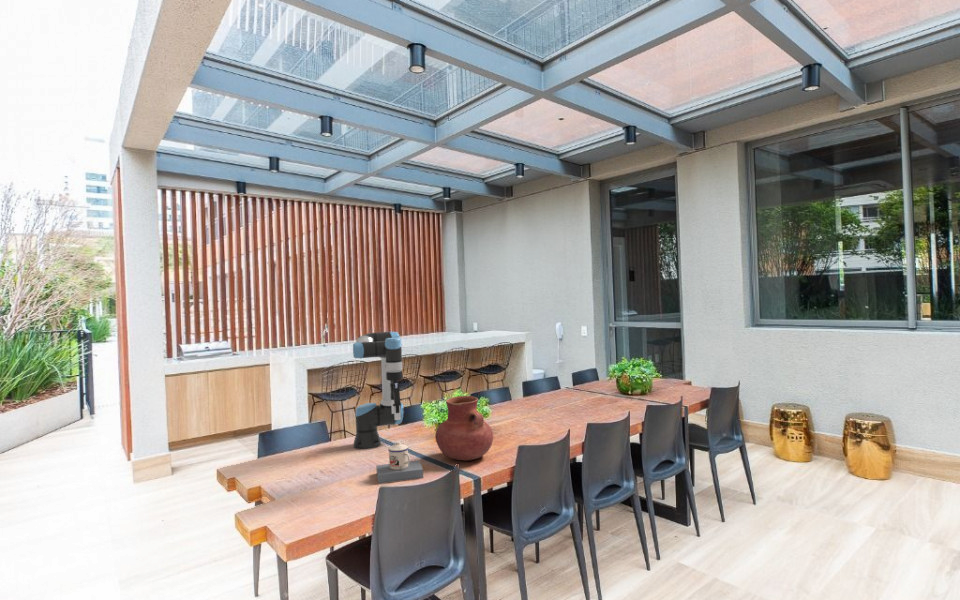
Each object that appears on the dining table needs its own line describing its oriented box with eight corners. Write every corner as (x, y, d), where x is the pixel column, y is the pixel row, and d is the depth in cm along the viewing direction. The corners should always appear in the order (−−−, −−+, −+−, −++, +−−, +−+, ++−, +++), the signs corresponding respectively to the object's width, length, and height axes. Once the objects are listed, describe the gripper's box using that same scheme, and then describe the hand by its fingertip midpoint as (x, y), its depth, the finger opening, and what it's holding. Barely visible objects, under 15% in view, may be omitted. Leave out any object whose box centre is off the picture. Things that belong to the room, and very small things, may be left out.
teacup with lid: (385, 468, 231) (383, 442, 231) (399, 462, 238) (398, 438, 238) (402, 472, 224) (401, 446, 224) (417, 467, 231) (416, 441, 231)
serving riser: (376, 473, 236) (376, 465, 236) (419, 468, 241) (418, 460, 241) (378, 484, 222) (378, 475, 222) (423, 478, 227) (423, 469, 227)
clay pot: (425, 458, 257) (422, 399, 257) (469, 445, 276) (466, 391, 276) (461, 471, 234) (458, 407, 235) (506, 456, 254) (503, 397, 254)
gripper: (383, 368, 244) (385, 411, 245) (388, 375, 220) (390, 423, 220) (399, 367, 246) (401, 410, 247) (405, 374, 222) (407, 421, 222)
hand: (396, 416), depth 233 cm, fingers open, 13 cm apart
